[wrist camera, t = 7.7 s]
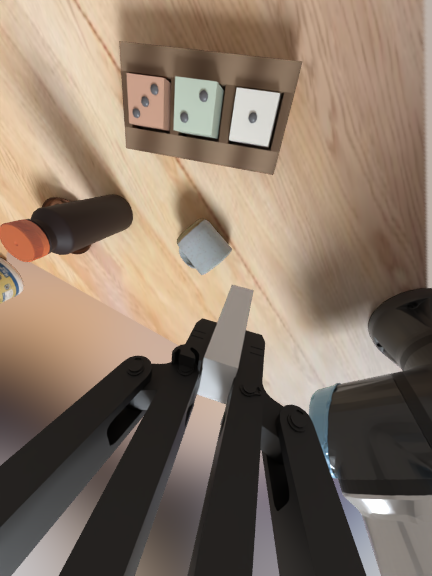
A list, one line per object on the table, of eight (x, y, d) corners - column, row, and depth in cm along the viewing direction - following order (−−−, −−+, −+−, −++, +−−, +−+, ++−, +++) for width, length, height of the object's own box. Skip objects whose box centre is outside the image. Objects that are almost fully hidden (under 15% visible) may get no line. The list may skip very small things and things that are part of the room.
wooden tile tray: (298, 77, 27) (302, 61, 23) (273, 173, 33) (273, 174, 29) (141, 58, 30) (119, 41, 26) (143, 149, 36) (126, 148, 32)
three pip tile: (175, 86, 29) (163, 77, 26) (174, 132, 31) (162, 128, 28) (141, 82, 29) (125, 72, 26) (142, 127, 32) (128, 123, 29)
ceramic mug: (207, 211, 39) (193, 220, 32) (236, 244, 40) (227, 259, 34) (173, 245, 44) (156, 258, 38) (200, 273, 46) (187, 290, 39)
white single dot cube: (279, 100, 27) (280, 92, 24) (268, 147, 30) (267, 146, 26) (241, 95, 28) (236, 86, 24) (233, 142, 30) (228, 139, 27)
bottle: (98, 214, 44) (-11, 245, 27) (109, 186, 41) (-8, 202, 24) (126, 236, 45) (36, 278, 28) (139, 210, 42) (45, 241, 25)
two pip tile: (223, 90, 27) (216, 81, 24) (217, 138, 29) (210, 136, 26) (186, 85, 27) (174, 75, 24) (183, 133, 30) (172, 129, 27)
